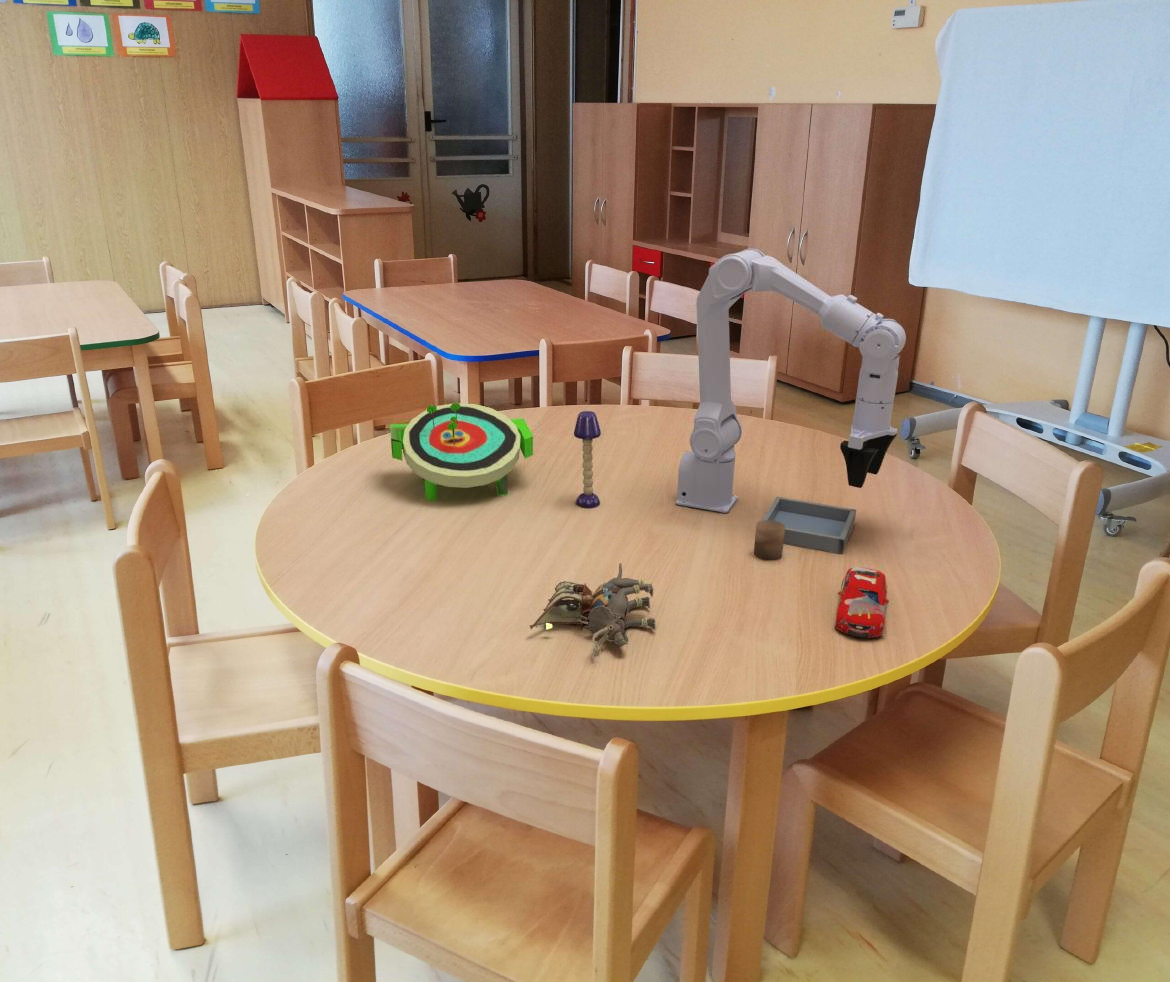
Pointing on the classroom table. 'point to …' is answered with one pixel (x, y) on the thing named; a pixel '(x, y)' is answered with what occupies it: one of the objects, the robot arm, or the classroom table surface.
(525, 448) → the dartboard
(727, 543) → the classroom table surface
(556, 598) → the figurine
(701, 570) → the classroom table surface
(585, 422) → the toy lamp
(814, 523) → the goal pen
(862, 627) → the race car
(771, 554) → the walnut post
